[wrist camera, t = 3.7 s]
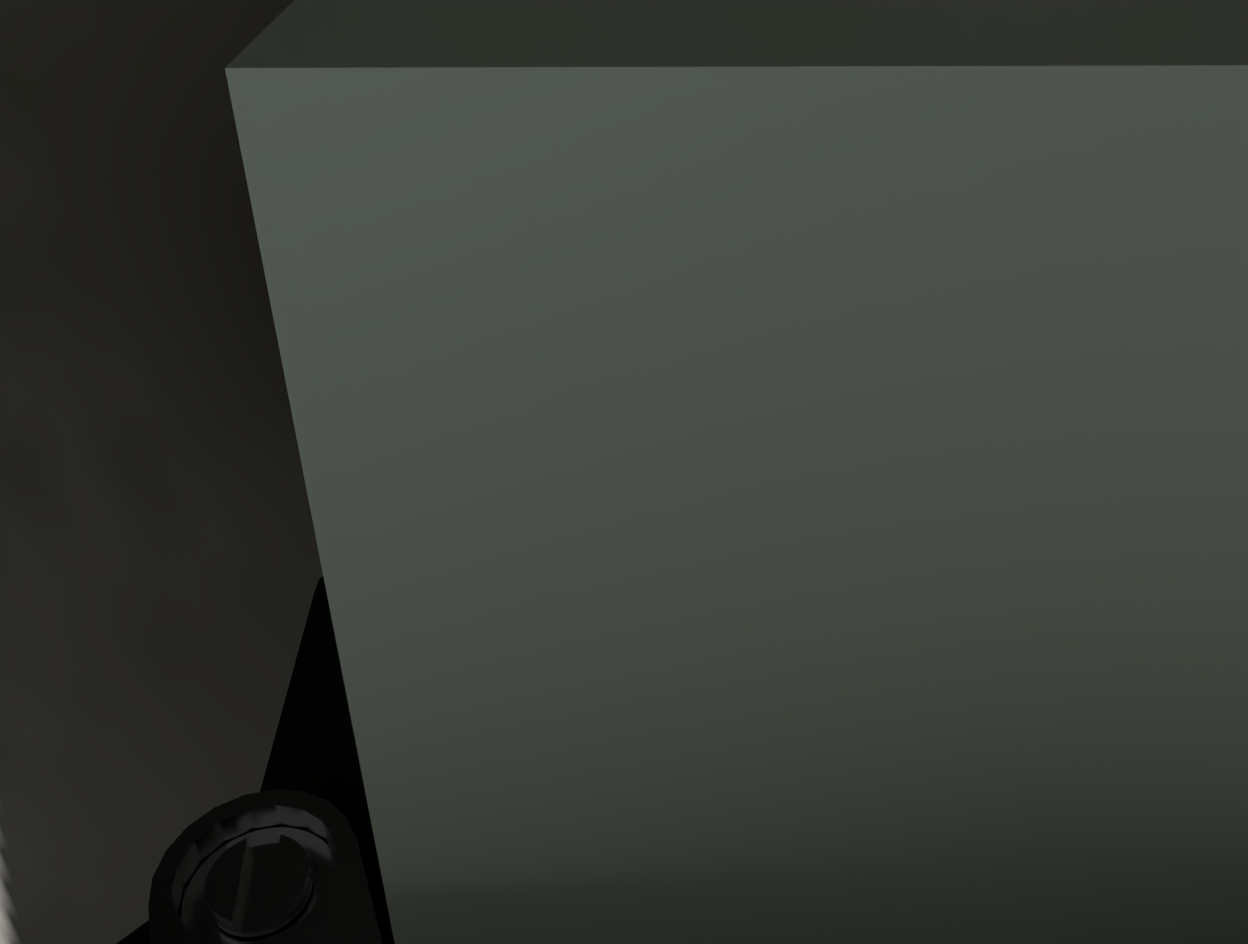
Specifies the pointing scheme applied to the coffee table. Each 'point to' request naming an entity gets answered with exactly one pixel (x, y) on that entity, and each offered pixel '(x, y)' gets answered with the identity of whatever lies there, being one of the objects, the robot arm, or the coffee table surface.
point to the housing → (775, 458)
